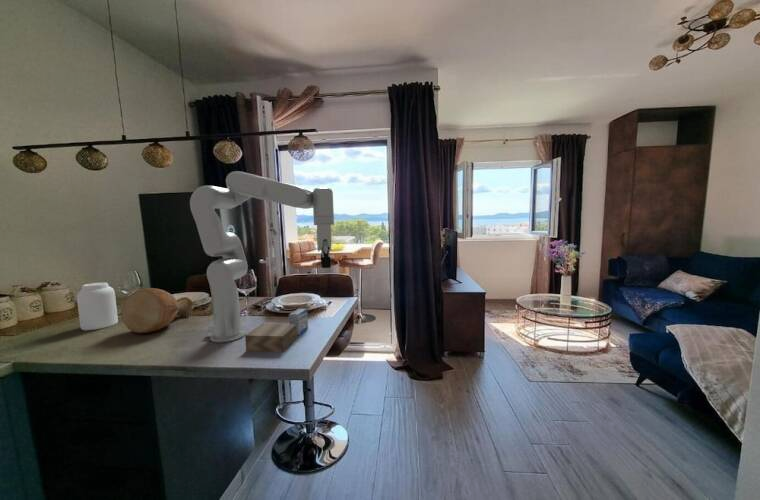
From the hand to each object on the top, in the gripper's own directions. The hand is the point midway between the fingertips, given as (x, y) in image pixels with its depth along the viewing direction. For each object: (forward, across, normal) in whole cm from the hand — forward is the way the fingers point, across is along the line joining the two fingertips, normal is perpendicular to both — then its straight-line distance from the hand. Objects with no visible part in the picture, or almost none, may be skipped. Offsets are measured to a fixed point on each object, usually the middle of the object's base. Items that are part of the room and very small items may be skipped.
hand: (325, 265), depth 110 cm
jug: (+29, -36, -72) cm, 86 cm away
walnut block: (+29, +1, -21) cm, 36 cm away
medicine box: (+29, -10, -12) cm, 33 cm away
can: (+29, -44, -102) cm, 115 cm away
